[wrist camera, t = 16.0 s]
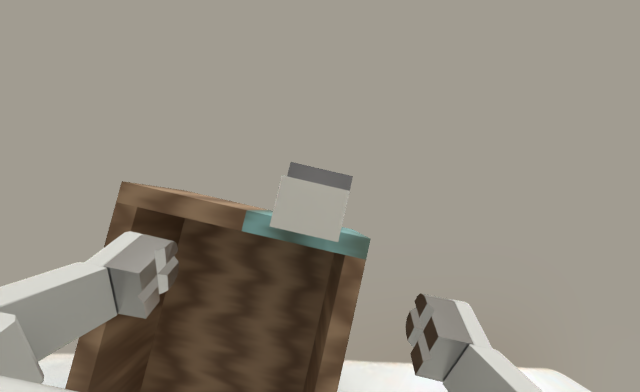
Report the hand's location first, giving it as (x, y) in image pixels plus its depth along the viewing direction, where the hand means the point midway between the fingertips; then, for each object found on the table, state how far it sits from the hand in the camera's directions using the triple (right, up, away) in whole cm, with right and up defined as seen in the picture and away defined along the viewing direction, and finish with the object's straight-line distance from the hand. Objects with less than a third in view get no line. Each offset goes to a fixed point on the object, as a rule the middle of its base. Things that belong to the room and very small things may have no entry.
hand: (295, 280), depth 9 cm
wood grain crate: (-12, -24, +21) cm, 34 cm away
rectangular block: (0, 0, +16) cm, 16 cm away
